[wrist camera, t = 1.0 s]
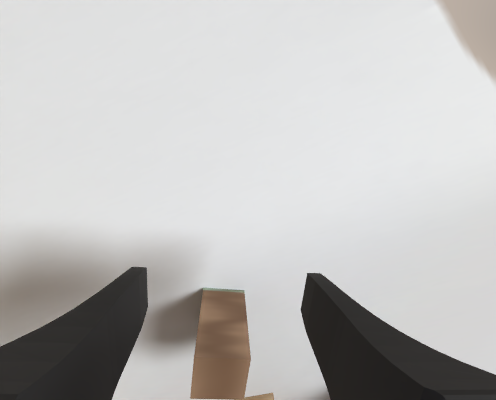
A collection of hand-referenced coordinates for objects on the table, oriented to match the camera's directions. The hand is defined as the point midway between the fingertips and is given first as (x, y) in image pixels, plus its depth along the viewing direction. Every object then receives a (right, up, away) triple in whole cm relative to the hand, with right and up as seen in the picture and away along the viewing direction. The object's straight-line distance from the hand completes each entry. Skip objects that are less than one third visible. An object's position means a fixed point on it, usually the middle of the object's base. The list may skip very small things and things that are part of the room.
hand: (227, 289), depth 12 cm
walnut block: (-1, -6, +12) cm, 14 cm away
